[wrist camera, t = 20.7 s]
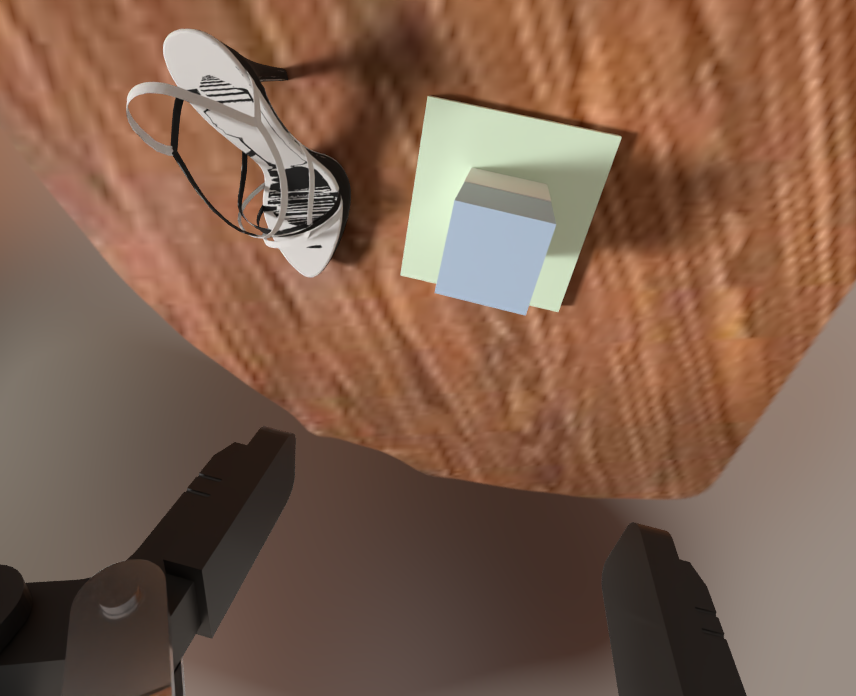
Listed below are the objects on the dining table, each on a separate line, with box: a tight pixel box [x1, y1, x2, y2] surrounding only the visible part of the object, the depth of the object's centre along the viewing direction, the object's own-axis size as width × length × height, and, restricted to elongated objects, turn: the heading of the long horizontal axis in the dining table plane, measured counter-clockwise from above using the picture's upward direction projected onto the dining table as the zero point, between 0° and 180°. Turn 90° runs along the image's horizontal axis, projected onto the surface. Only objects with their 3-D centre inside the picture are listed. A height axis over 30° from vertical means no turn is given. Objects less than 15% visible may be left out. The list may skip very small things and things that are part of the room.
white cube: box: [464, 168, 551, 202], centre depth 32 cm, size 5×5×5 cm
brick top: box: [435, 182, 556, 315], centre depth 28 cm, size 5×5×5 cm
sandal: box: [126, 29, 351, 278], centre depth 29 cm, size 15×9×15 cm, turn 164°
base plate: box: [401, 96, 622, 312], centre depth 34 cm, size 13×13×1 cm
